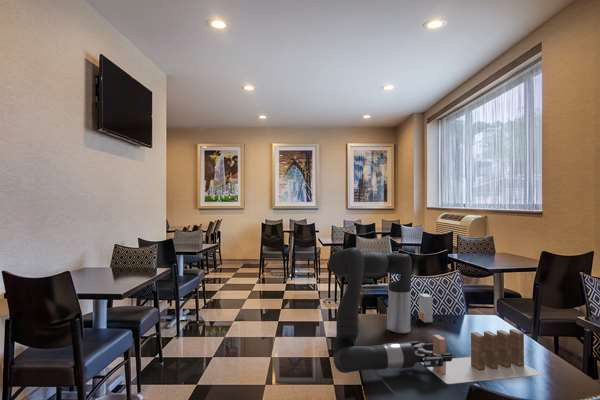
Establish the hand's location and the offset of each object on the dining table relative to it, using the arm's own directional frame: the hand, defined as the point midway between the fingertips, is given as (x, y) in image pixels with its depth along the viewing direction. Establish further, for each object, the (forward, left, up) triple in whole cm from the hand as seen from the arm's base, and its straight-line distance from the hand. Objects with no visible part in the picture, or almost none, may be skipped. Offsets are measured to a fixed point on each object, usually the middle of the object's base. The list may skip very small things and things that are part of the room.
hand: (443, 351), depth 116 cm
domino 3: (+16, +16, -6) cm, 23 cm away
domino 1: (+9, +9, -6) cm, 14 cm away
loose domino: (-1, -1, -6) cm, 6 cm away
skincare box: (-19, +52, -7) cm, 56 cm away
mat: (+9, +9, -7) cm, 15 cm away
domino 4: (+20, +19, -6) cm, 28 cm away
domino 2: (+12, +12, -6) cm, 19 cm away
